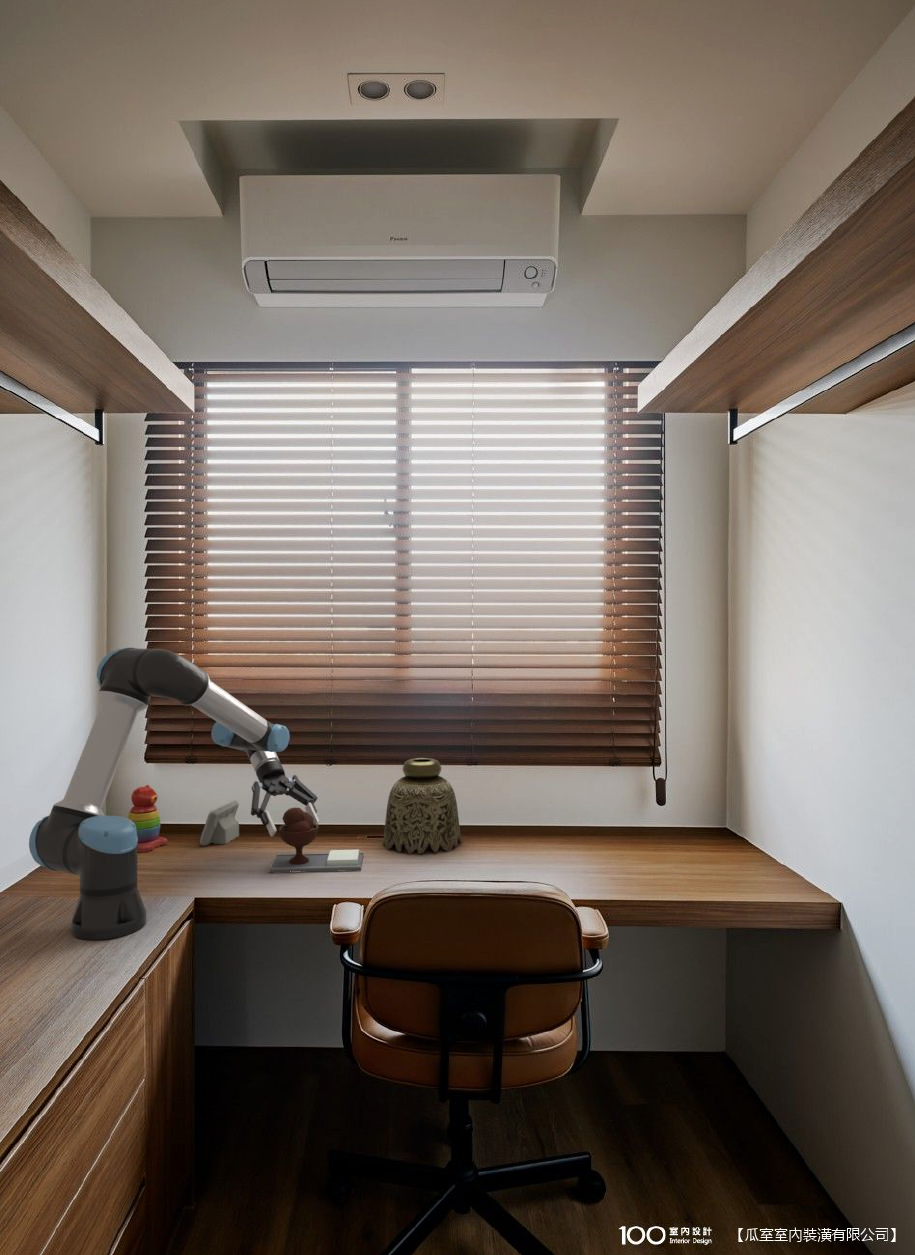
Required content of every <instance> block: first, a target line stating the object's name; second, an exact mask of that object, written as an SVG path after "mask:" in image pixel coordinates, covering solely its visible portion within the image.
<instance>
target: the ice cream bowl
mask: <svg viewBox="0 0 915 1255" xmlns="http://www.w3.org/2000/svg"><path fill="white" fill-rule="evenodd" d="M281 819H282V821H283V824H282V825H280V826H279V828H278V833H279V836H280V839H281V840H282V841H283V842H284V843H285V844H287V845H288V846H290V847H294V849H295V854H296V856H294V857H293V858H291V859H290V862H289V863H290V864H293V865H301V864H306V863H308V862H309V858H307V857H305V856H303V855H302V854H303V848H304V847H306V846H308V845H310V844H311V843H312V842H313V841H314V840H315V839H316V837H317V835H318V833H319V827H320V824H318V825H317V824H314V823H313V822H314V820H313V817H312V816H311V815H310V814H308V813H307V812H306V811H304V810H303V809H302V808H301V807H291V808H290V807H289V808H288V809H287V810H286V811H285V812H284V813H283V817H282V818H281Z"/></svg>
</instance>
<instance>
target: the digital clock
mask: <svg viewBox="0 0 915 1255" xmlns="http://www.w3.org/2000/svg"><path fill="white" fill-rule="evenodd" d="M239 805H240V804H239V802H238V801H237V799H235V800H231V801H228V802H226V803H224V804H222V805H220V806H218V807H216V808H213V809H211V810H210V811H209V813H208V815H207V818H206V821H205V823H204V827H203V829H202V832H201V836H200V839H199V844H200V846H203V847H204V846H208V845H210V843H214V844H213V845H226V844H228V843H229V842H232V841H233V840H235V839H237V838H238V837H239V836H240V823H239V821H238V820H236V818H235V817H236V816H237V815H236V814H237V811H238V808H239ZM236 837H237V838H236ZM231 840H232V841H231Z"/></svg>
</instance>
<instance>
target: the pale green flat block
mask: <svg viewBox="0 0 915 1255" xmlns="http://www.w3.org/2000/svg"><path fill="white" fill-rule="evenodd" d="M359 852H360V849H330V851H329V852H328V853H329V856H328V859H327V866H357V864H358V859H359Z"/></svg>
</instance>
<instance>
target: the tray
mask: <svg viewBox="0 0 915 1255" xmlns="http://www.w3.org/2000/svg"><path fill="white" fill-rule="evenodd" d="M329 853H330V852H315V853H314V852H312V853H310V852H308V853H307V852H306V853H302V855H303V856H305V857H307V858H309V862H308V863H306V864H301V865H293V864H290V863H289V862H290V859H291V858H293V857H294V856H296V853H277V854H276V857H275V859H274V861H273V862H272V865H271V867H269V873H270V872H271V873H270V874H273V873H272V872H286V873H293V872H292V871H301V872H300V873H304V872H303V871H325V872H339V871H338V870H361V871H362V866H363V865H362V864H363V859H364V851H359V859H358V864H357V866H327V859H328V856H329ZM361 865H362V866H361ZM290 871H291V872H290Z"/></svg>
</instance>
